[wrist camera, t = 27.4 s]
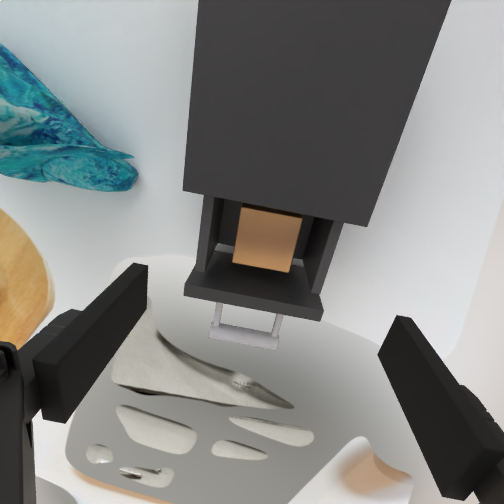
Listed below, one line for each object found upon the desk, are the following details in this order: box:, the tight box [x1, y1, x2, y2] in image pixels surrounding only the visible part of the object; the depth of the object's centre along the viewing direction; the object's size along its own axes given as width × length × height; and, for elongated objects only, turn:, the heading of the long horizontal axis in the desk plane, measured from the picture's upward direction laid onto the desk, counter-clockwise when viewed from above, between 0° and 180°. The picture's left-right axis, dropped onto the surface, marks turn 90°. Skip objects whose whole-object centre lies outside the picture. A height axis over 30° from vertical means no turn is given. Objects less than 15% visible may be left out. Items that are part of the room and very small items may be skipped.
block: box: [232, 203, 303, 272], centre depth 26 cm, size 5×5×5 cm
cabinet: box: [183, 0, 451, 227], centre depth 21 cm, size 15×13×10 cm
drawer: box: [184, 195, 344, 350], centre depth 26 cm, size 20×12×8 cm, turn 169°
